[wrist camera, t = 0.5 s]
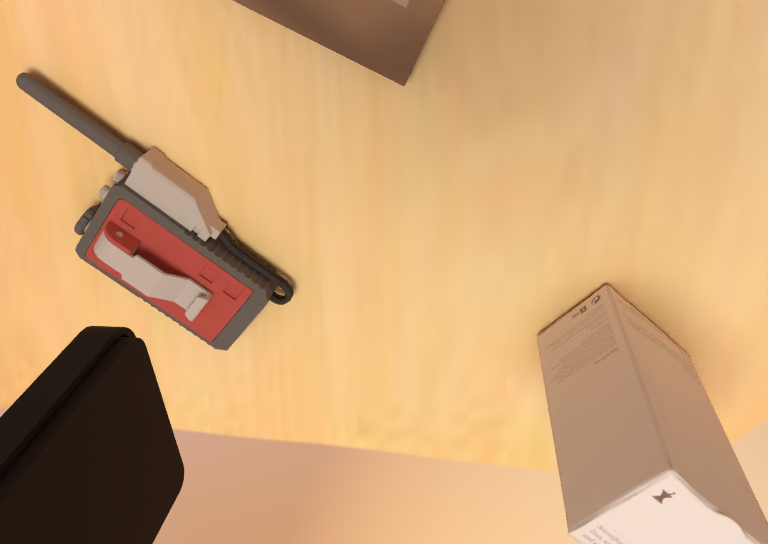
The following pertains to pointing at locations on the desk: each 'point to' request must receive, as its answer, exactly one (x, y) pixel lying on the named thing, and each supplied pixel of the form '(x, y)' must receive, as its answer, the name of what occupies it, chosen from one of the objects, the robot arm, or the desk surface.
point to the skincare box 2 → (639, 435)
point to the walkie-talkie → (166, 238)
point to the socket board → (360, 28)
